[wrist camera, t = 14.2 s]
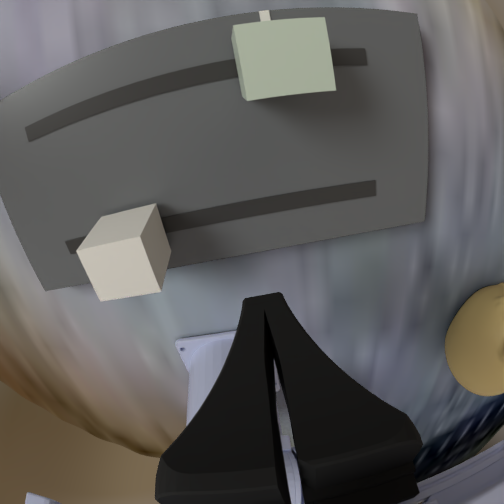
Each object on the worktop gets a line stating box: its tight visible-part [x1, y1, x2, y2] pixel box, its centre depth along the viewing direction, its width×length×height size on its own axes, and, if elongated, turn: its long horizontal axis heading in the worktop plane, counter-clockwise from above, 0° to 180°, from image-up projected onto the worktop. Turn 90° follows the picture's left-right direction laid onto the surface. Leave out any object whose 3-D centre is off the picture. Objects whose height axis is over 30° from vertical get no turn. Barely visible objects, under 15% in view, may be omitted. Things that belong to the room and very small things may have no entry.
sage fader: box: [231, 17, 336, 101], centre depth 12 cm, size 3×4×4 cm
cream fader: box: [76, 203, 171, 301], centre depth 17 cm, size 3×4×4 cm
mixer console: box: [0, 8, 428, 291], centre depth 17 cm, size 14×28×2 cm, turn 99°
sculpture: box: [445, 283, 504, 396], centre depth 24 cm, size 11×12×11 cm
